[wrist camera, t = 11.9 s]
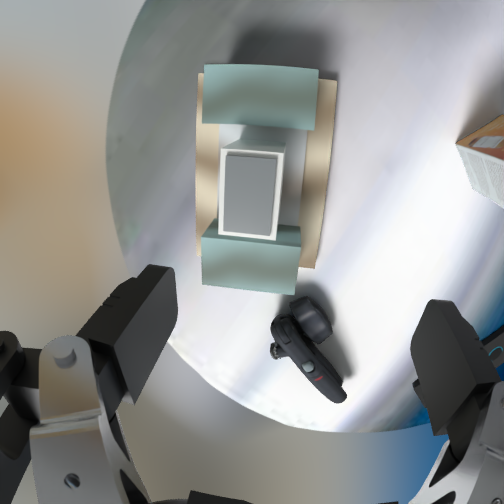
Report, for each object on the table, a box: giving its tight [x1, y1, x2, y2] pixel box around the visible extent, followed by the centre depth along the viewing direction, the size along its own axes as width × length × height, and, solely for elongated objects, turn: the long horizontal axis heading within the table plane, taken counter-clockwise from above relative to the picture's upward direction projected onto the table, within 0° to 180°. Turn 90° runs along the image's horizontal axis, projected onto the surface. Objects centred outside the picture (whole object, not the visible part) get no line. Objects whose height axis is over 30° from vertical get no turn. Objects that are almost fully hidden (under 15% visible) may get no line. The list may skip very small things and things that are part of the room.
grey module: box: [218, 139, 286, 240], centre depth 23 cm, size 4×6×7 cm, turn 176°
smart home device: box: [413, 326, 504, 408], centre depth 35 cm, size 8×2×20 cm
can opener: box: [270, 296, 347, 403], centre depth 34 cm, size 18×7×6 cm, turn 29°
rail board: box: [196, 64, 337, 295], centre depth 25 cm, size 18×12×6 cm, turn 177°
